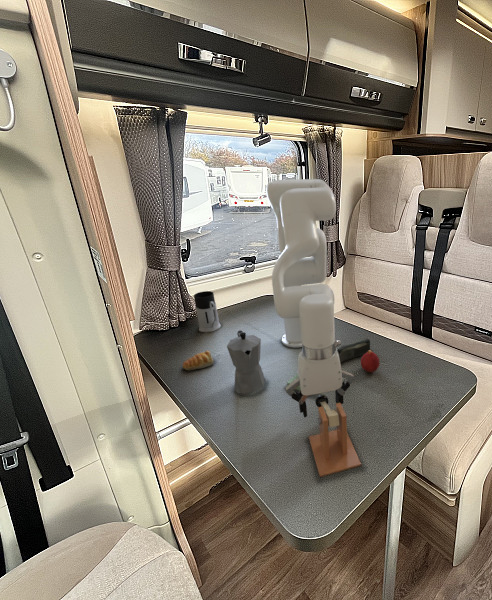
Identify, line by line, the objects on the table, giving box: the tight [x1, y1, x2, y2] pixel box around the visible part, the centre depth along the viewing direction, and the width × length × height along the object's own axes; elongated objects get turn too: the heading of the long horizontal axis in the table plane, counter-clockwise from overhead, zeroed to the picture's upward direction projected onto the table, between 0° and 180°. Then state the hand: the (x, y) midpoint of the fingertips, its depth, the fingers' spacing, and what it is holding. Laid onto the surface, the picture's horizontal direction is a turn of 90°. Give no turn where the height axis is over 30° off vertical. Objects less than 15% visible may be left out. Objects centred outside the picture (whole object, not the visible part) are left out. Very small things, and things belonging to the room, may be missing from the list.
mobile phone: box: [337, 338, 371, 363], centre depth 108 cm, size 5×3×15 cm
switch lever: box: [314, 394, 340, 428], centre depth 72 cm, size 13×3×3 cm, turn 16°
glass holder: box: [193, 290, 222, 333], centre depth 129 cm, size 9×14×15 cm, turn 43°
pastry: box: [182, 350, 215, 371], centre depth 106 cm, size 9×7×4 cm
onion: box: [360, 349, 380, 373], centre depth 99 cm, size 6×6×8 cm
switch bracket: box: [308, 402, 362, 478], centre depth 69 cm, size 11×9×12 cm
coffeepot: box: [226, 329, 267, 395], centre depth 92 cm, size 15×9×18 cm, turn 25°
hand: (321, 409), depth 78 cm, fingers open, 8 cm apart
